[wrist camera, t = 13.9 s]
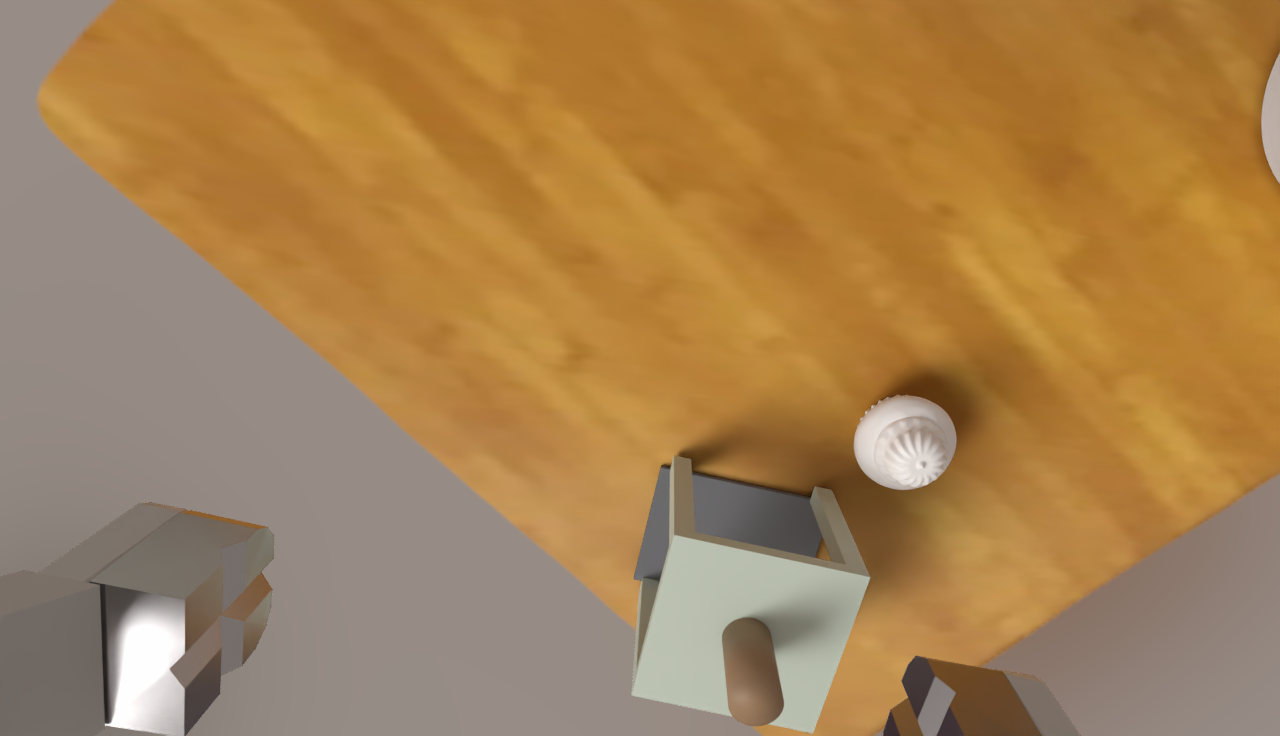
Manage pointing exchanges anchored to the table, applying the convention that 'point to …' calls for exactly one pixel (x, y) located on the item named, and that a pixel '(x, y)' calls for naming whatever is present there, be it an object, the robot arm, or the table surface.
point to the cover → (746, 618)
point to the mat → (730, 519)
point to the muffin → (904, 442)
